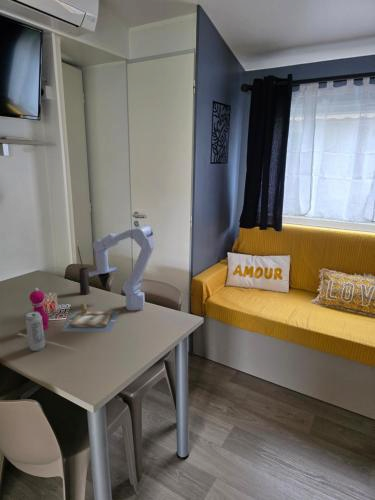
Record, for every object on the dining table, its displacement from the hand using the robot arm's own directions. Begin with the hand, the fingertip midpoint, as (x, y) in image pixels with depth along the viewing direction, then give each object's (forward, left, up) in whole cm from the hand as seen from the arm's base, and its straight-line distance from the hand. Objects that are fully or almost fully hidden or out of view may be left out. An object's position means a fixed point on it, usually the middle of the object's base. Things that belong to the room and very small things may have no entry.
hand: (104, 286), depth 175 cm
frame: (+1, +21, -9) cm, 23 cm away
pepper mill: (+22, +28, -10) cm, 37 cm away
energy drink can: (+17, +43, -10) cm, 47 cm away
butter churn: (+14, -14, -10) cm, 22 cm away
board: (+1, +21, -9) cm, 23 cm away
